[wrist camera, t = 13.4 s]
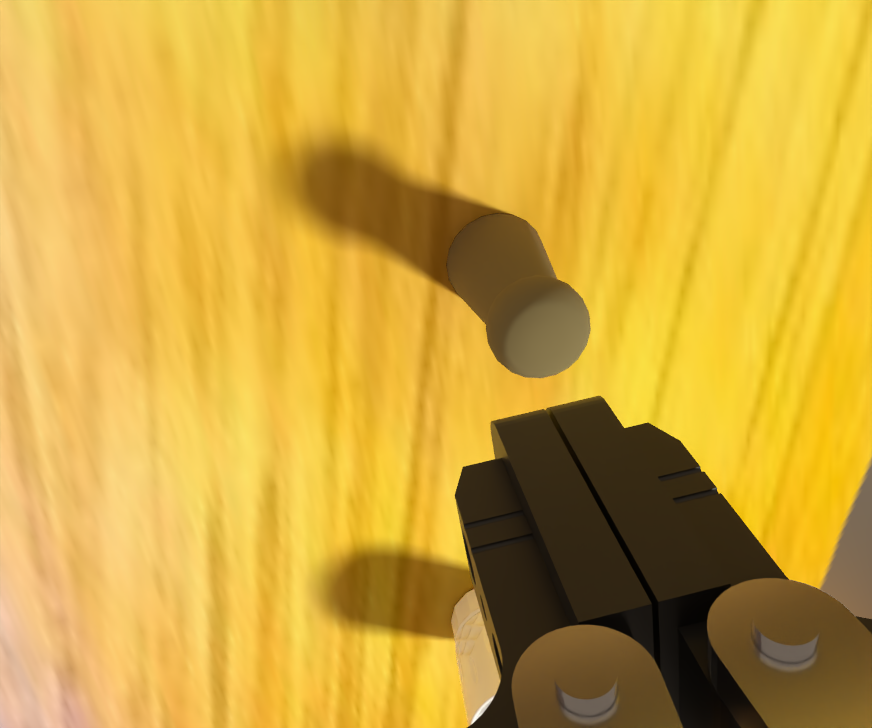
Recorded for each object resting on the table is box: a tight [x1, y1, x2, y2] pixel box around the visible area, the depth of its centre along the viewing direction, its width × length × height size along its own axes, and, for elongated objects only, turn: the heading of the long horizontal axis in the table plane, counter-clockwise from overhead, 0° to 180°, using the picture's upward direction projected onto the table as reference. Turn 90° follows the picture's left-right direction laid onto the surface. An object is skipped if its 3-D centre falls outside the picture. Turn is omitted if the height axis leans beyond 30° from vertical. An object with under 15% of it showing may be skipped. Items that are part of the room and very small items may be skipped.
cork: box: [447, 213, 590, 378], centre depth 43 cm, size 6×6×11 cm
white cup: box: [451, 589, 500, 727], centre depth 57 cm, size 8×8×10 cm
